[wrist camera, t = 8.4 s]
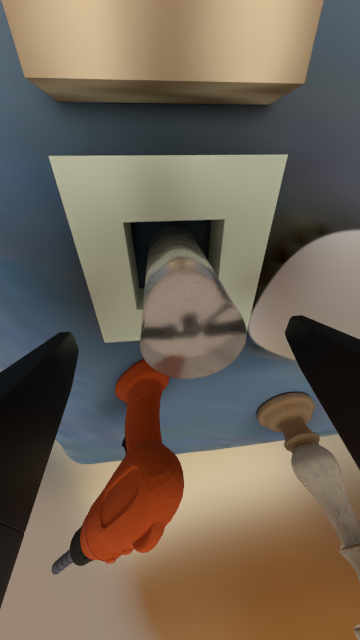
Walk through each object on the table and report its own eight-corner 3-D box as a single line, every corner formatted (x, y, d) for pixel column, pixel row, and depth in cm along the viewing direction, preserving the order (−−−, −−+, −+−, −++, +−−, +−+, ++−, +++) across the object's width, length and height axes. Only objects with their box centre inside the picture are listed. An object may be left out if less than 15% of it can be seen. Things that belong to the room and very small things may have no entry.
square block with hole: (260, 158, 14) (287, 154, 11) (233, 310, 21) (246, 332, 18) (72, 159, 13) (48, 156, 10) (111, 318, 20) (104, 342, 17)
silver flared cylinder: (198, 225, 16) (256, 294, 7) (196, 274, 18) (237, 374, 9) (145, 226, 15) (132, 301, 6) (150, 276, 18) (146, 382, 9)
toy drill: (66, 438, 29) (10, 627, 16) (144, 346, 23) (153, 520, 11) (98, 445, 31) (72, 617, 18) (176, 362, 26) (217, 524, 13)
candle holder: (316, 386, 30) (509, 641, 14) (304, 417, 35) (435, 629, 19) (257, 397, 30) (379, 663, 14) (254, 426, 35) (340, 645, 19)
